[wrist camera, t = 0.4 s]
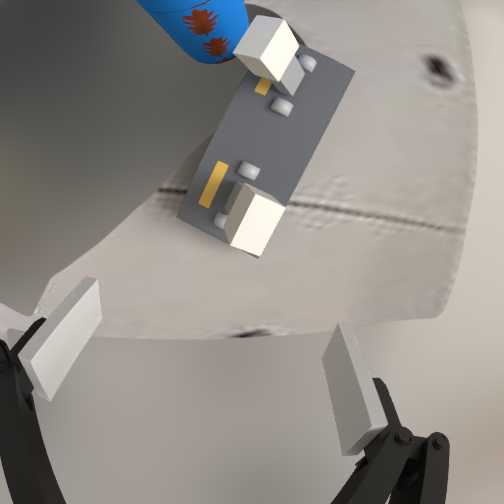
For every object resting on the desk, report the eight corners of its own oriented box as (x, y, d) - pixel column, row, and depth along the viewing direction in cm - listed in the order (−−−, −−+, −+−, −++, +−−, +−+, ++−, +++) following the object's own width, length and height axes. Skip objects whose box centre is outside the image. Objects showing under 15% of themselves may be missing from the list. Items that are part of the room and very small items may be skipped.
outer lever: (235, 173, 33) (255, 193, 23) (257, 183, 34) (285, 207, 24) (217, 210, 35) (230, 245, 25) (239, 219, 36) (259, 256, 26)
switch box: (272, 49, 34) (270, 28, 27) (345, 83, 34) (357, 68, 28) (190, 210, 42) (173, 218, 35) (261, 246, 43) (257, 261, 36)
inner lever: (290, 64, 29) (256, 15, 19) (311, 70, 29) (284, 19, 19) (273, 95, 31) (232, 52, 21) (294, 102, 30) (259, 58, 20)
